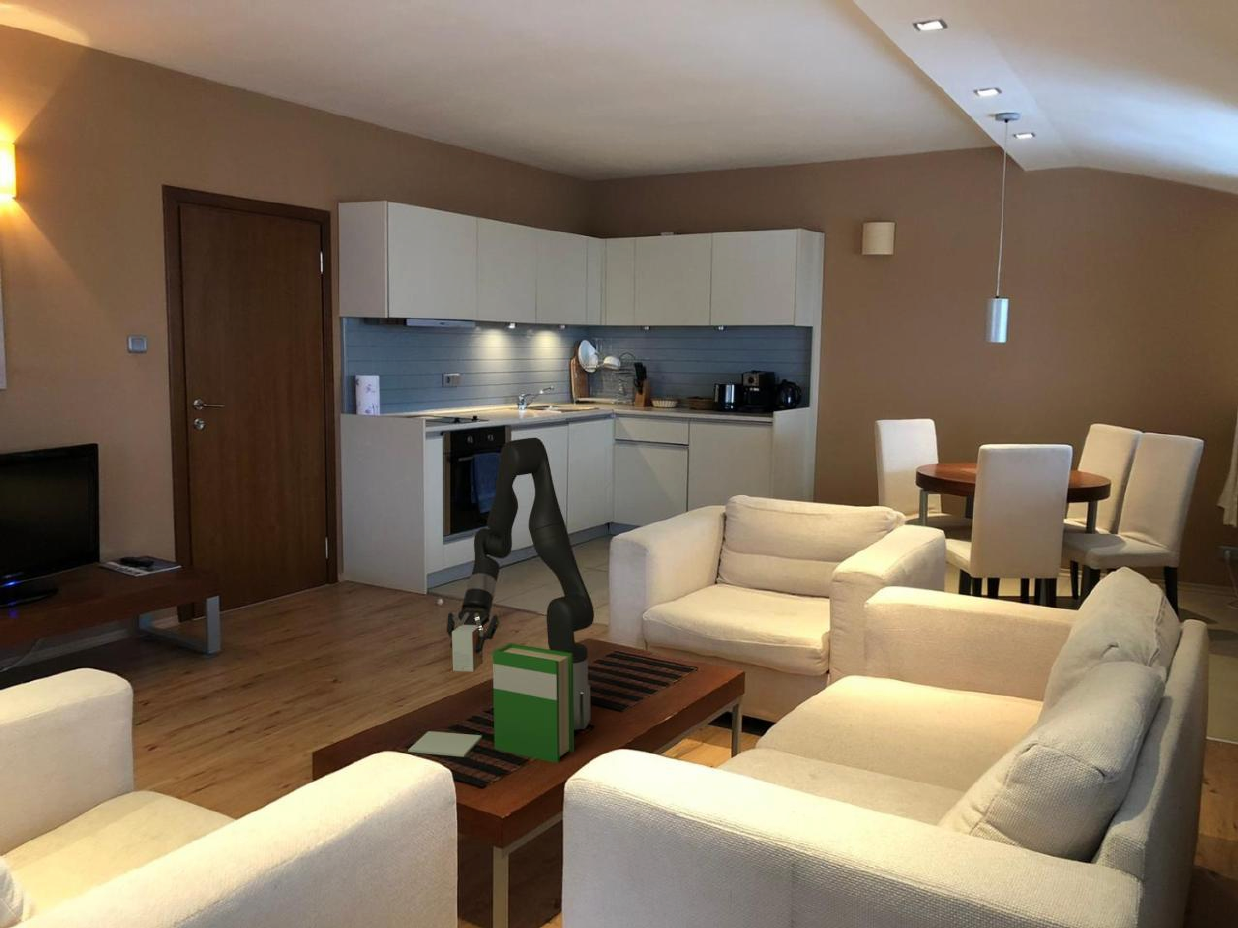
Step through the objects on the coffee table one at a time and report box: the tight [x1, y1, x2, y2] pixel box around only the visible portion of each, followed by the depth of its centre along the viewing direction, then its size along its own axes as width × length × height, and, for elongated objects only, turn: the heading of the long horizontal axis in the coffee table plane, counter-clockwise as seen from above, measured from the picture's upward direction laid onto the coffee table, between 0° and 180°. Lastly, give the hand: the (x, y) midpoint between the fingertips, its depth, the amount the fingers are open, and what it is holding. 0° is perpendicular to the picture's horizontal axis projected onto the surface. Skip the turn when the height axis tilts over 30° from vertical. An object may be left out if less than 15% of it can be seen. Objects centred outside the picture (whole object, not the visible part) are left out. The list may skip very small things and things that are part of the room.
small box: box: [451, 625, 484, 673], centre depth 259 cm, size 8×6×10 cm
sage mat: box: [407, 730, 483, 758], centre depth 243 cm, size 14×12×1 cm
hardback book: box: [492, 643, 575, 764], centre depth 238 cm, size 18×7×24 cm, turn 62°
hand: (465, 651), depth 257 cm, fingers closed on small box, 5 cm apart
